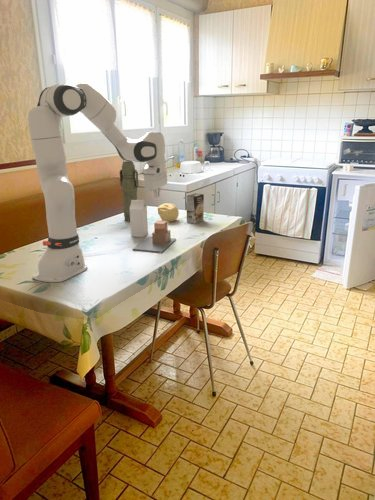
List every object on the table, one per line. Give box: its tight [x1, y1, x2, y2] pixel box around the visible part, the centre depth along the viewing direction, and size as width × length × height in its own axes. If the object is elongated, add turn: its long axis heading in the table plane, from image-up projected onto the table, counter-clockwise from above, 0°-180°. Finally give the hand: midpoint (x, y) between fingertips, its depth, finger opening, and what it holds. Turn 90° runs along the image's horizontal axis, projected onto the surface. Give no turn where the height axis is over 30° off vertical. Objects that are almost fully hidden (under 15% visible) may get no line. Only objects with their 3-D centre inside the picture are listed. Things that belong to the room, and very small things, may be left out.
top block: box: [153, 220, 169, 234], centre depth 186 cm, size 5×5×5 cm
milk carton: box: [129, 199, 149, 238], centre depth 198 cm, size 7×7×19 cm
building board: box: [131, 229, 177, 254], centre depth 185 cm, size 20×15×6 cm
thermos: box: [119, 160, 139, 222], centre depth 226 cm, size 9×12×35 cm
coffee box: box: [186, 193, 205, 225], centre depth 223 cm, size 9×6×16 cm
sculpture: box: [157, 202, 180, 223], centre depth 227 cm, size 11×12×11 cm
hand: (157, 196), depth 181 cm, fingers closed
